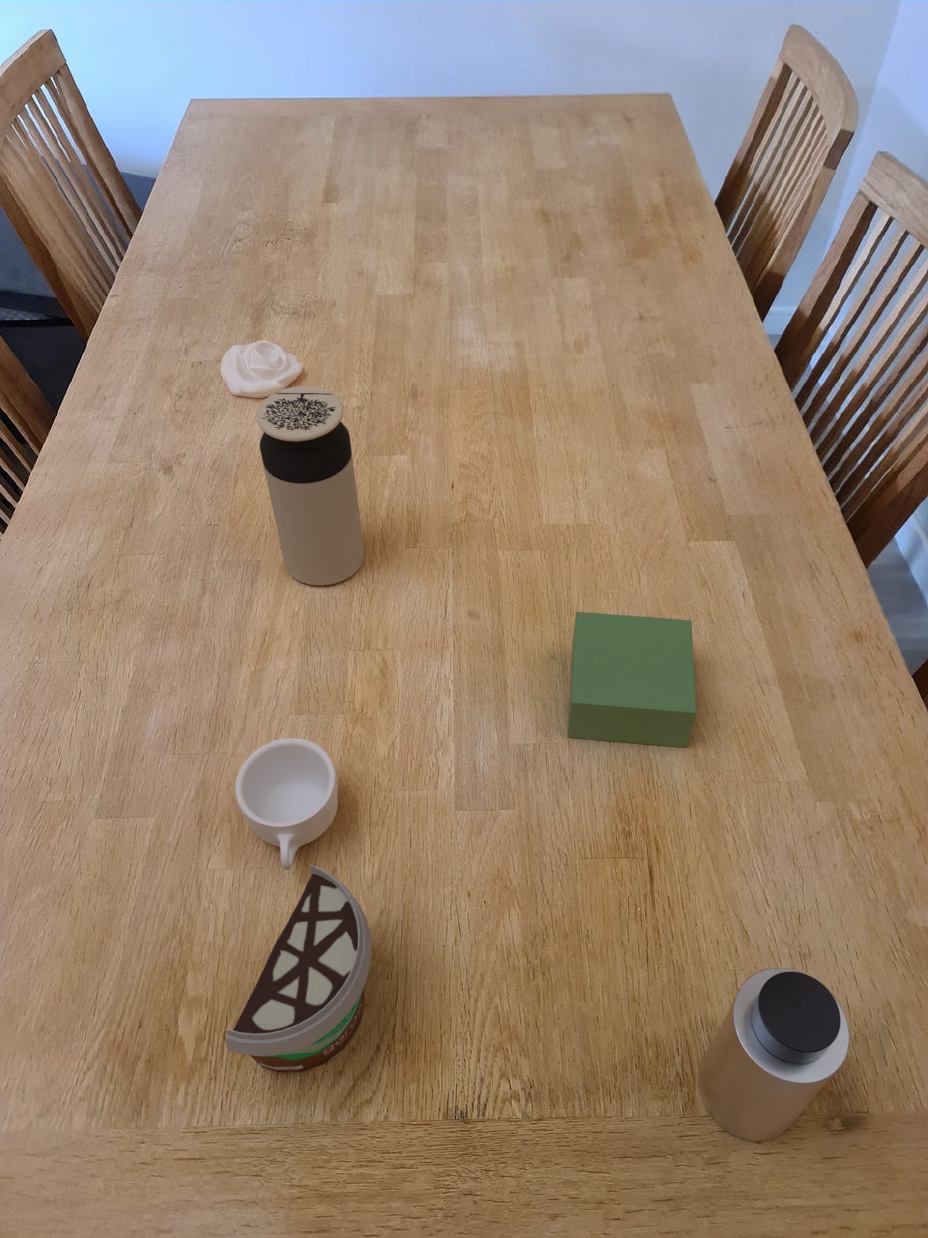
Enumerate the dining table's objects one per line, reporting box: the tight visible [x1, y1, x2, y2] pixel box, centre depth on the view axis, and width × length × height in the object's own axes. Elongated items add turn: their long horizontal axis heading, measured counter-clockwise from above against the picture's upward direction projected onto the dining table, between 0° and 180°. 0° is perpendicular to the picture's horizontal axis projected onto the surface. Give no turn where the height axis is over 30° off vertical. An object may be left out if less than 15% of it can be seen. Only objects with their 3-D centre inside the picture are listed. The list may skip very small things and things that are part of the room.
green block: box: [566, 611, 697, 748], centre depth 83 cm, size 10×10×5 cm
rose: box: [219, 339, 303, 399], centre depth 116 cm, size 10×4×10 cm
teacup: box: [234, 737, 339, 871], centre depth 75 cm, size 10×8×5 cm
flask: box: [697, 967, 850, 1142], centre depth 59 cm, size 6×6×14 cm
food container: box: [224, 864, 373, 1073], centre depth 63 cm, size 12×6×10 cm, turn 160°
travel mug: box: [256, 385, 365, 586], centre depth 90 cm, size 8×8×18 cm
